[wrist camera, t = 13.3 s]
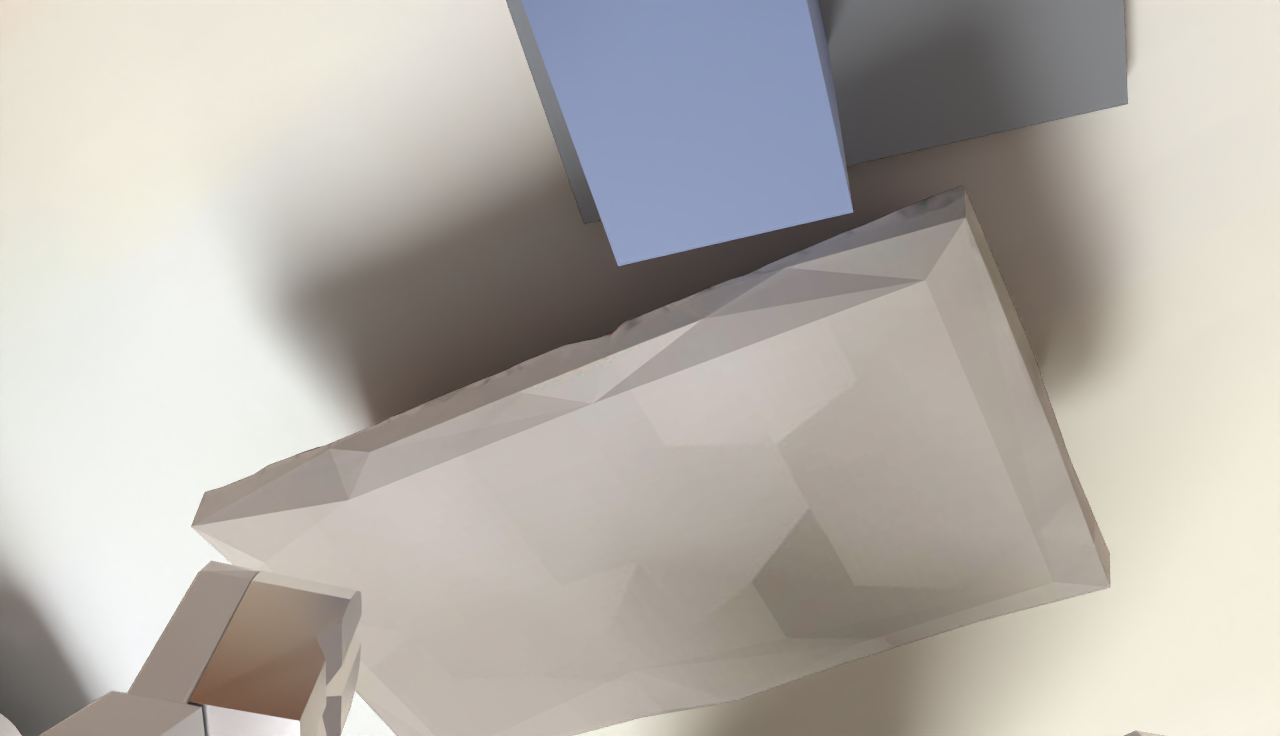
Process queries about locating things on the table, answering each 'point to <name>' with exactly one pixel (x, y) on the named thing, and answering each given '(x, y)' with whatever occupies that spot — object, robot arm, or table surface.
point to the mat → (932, 72)
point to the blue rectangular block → (696, 116)
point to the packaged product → (696, 496)
